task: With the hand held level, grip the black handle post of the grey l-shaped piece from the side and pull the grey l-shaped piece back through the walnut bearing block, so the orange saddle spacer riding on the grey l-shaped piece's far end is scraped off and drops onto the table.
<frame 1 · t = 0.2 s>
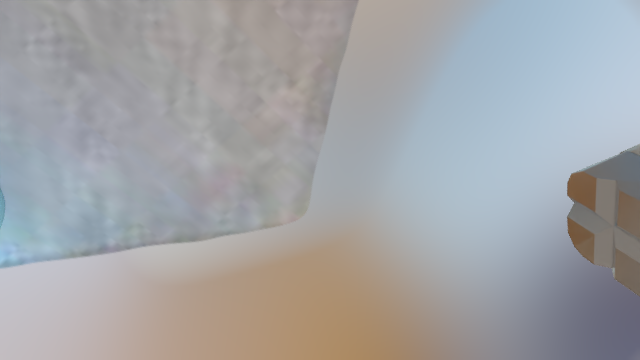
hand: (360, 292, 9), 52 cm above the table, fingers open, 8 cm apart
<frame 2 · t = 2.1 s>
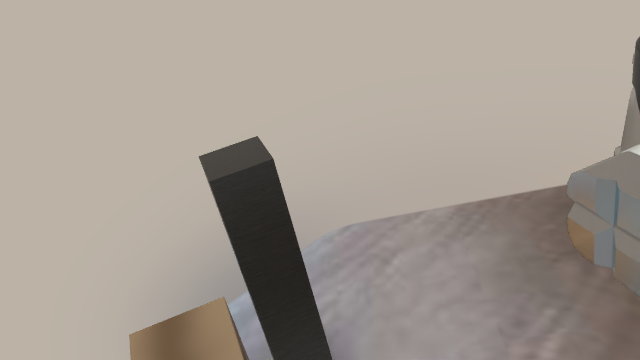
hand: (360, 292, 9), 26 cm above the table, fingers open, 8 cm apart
grey l-shaped piece: (162, 343, 29), point 13 cm above the table, slide at 0.0 cm, touching spacer
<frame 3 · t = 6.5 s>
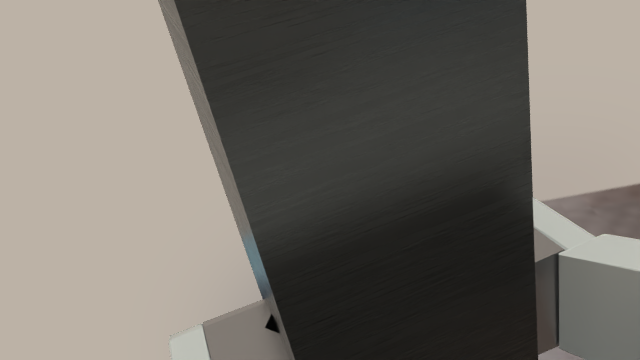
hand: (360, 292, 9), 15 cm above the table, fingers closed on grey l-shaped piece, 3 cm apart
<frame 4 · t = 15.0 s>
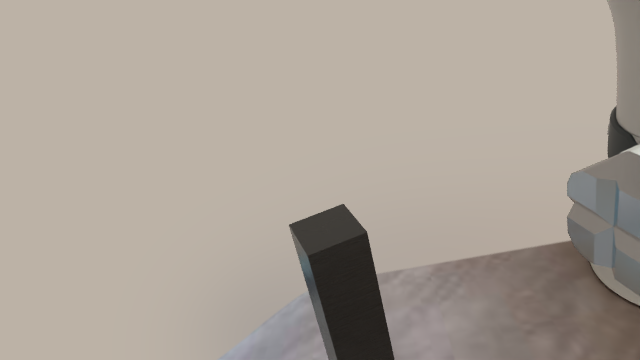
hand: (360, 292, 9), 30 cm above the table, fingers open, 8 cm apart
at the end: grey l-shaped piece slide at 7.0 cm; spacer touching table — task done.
